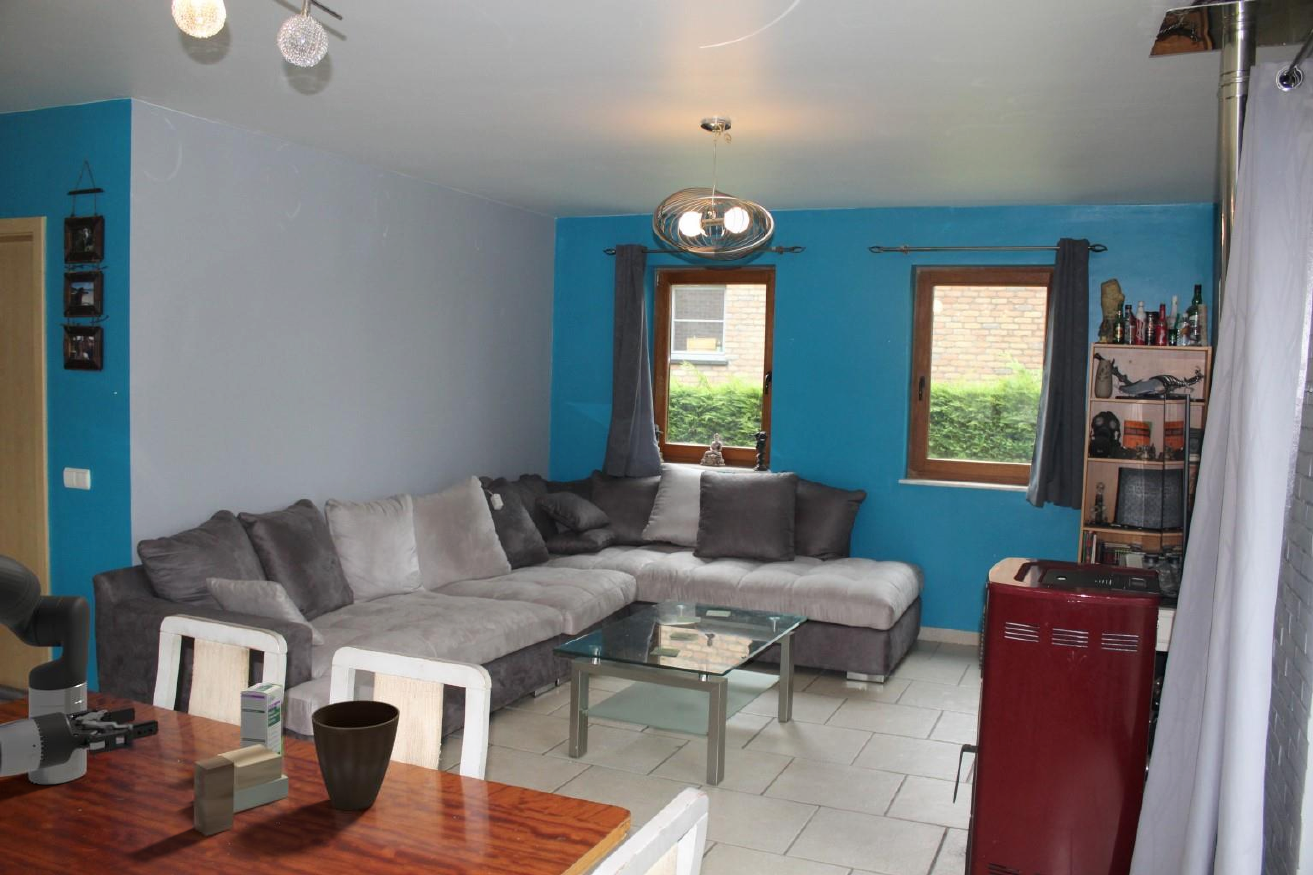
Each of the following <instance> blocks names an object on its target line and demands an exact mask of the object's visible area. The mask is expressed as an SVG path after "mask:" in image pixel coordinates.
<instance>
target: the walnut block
mask: <svg viewBox="0 0 1313 875" xmlns="http://www.w3.org/2000/svg"><path fill="white" fill-rule="evenodd" d="M193 770H194V775H193V776H194V777H193V778H194V779H193V780H194V781H193V783H194V784H193V785H194V786H193V791H194V792H193V828H194V829H195V830H197V831H198V832H199V833H201V834H203V835H204V836H206V837H209V836H212V835H214V834H218V833H220V832H224V831H227V830H231V829H233V828H234V814H235V813H234V762H232V761H230V760H229V759H227V758H225V757H223V756H222V755H221V756H217V755H216V756H213V757H209V758H205V759H202V760H198V761H194V769H193Z"/></svg>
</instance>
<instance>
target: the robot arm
mask: <svg viewBox="0 0 1313 875" xmlns="http://www.w3.org/2000/svg"><path fill="white" fill-rule="evenodd" d="M41 586H42V585H41V582H40V580H39V578H38V577H37V575H36V574H35V573H34V572H33V571H32V570H30V569H29V568H28V567H27V566H25V565H24V564H23V563H22V562H20V561H18V560H16V559H14V558H12V557H9V556H7V555H4V554H0V624H1V625H3V626H5V627H6V628H7V629H8V630H9V631H10V632H11V633H12V634H14V636H16V638H18V640H20V641H21V643H24V644H25V645H28V646H29V647H37V648H56V647H57V648H62V651H61V655H60V656H59V657H58V658H55V659H53V660H51V661H47V662H44V663H42V664H39V665H37V666H35V667H33V668H32V669H31V670H30V671H29V674H28V718H22V719H16V720H12V721H8V722H4V723H1V724H0V778H1V777H10V776H16V775H21V774H26V773H28V778H29V779H28V778H27V779H28V781H29V780H30V781H31V782H30V781H29V782H30V783H32V782H33V784H36V783H37V785H57V784H63V783H67V782H71V781H74V780H76V779H79V778H82V776H84V775H85V774H86V773H87V762H88V761H87V754H88V755H89V756H90V755H91V756H93V755H99V754H103V753H108V752H113V751H117V750H123V749H126V748H132V747H133V746H134V740H139V739H143V738H147V737H151V736H156V735H157V734H158V733H159V721H158V720H155V719H151V720H146V721H140V722H136V723H132V724H126V723H131V722H134V721H135V719H136V709H135V707H133V706H128V707H124V708H118V709H114V710H106V709H102V710H100V709H99V708H95V707H93V708H89V709H88V691H87V690H88V667H89V658H90V657H89V656H90V637H91V634H90V633H91V624H92V622H91V620H92V614H91V611H92V610H91V607H90V603H89V601H88V599H87V598H86V597H84V596H82V595H50V594H48V595H44V594H43V595H42V587H41ZM122 736H123V737H122ZM87 750H88V753H87Z"/></svg>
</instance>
